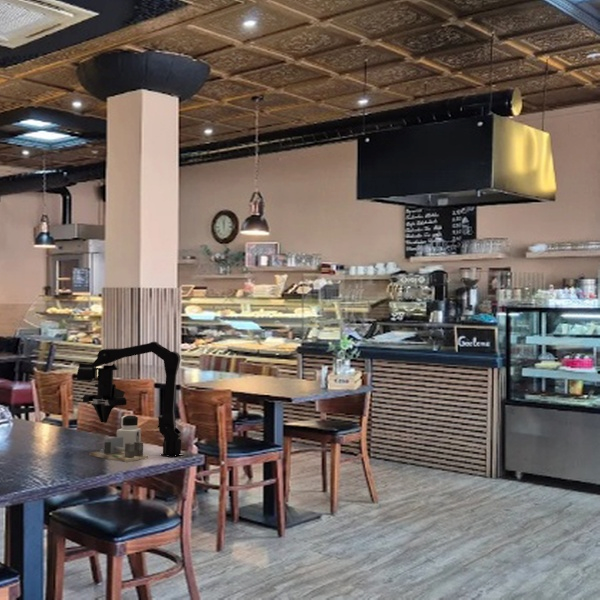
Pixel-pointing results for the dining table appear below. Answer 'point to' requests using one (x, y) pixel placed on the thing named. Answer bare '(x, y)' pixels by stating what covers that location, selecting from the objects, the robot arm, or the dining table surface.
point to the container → (129, 430)
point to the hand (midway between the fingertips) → (103, 422)
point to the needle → (107, 447)
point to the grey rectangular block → (115, 445)
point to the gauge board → (125, 453)
